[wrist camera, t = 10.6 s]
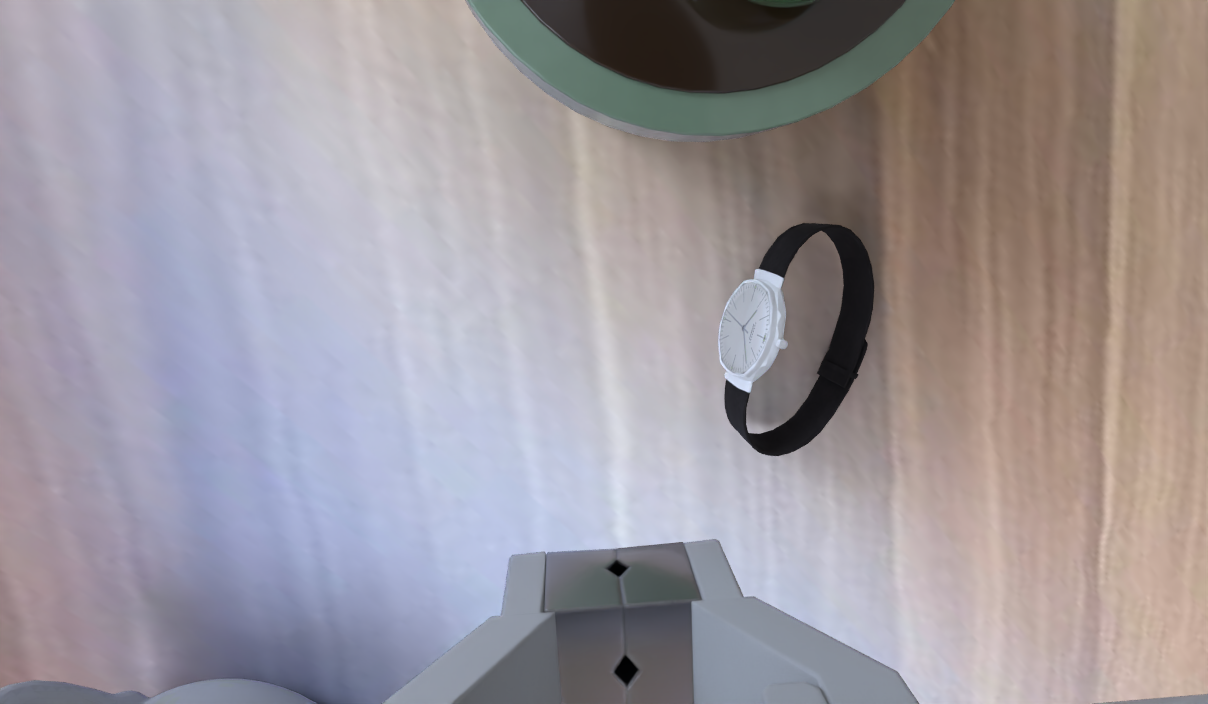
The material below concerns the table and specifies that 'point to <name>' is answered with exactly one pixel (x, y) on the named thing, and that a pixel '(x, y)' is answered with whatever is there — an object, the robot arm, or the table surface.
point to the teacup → (198, 700)
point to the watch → (758, 336)
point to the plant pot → (705, 57)
